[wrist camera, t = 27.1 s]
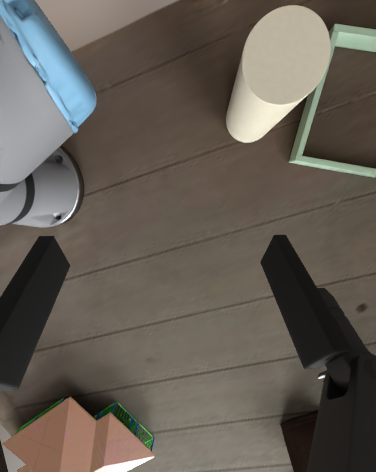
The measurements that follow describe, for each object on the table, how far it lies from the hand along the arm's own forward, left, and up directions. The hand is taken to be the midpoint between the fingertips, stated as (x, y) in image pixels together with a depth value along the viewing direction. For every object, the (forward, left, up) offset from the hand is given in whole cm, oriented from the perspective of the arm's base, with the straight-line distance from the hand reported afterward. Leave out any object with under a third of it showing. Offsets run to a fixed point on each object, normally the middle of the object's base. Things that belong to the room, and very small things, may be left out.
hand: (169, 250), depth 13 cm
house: (-17, -60, -23) cm, 67 cm away
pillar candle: (+6, +16, -23) cm, 28 cm away
